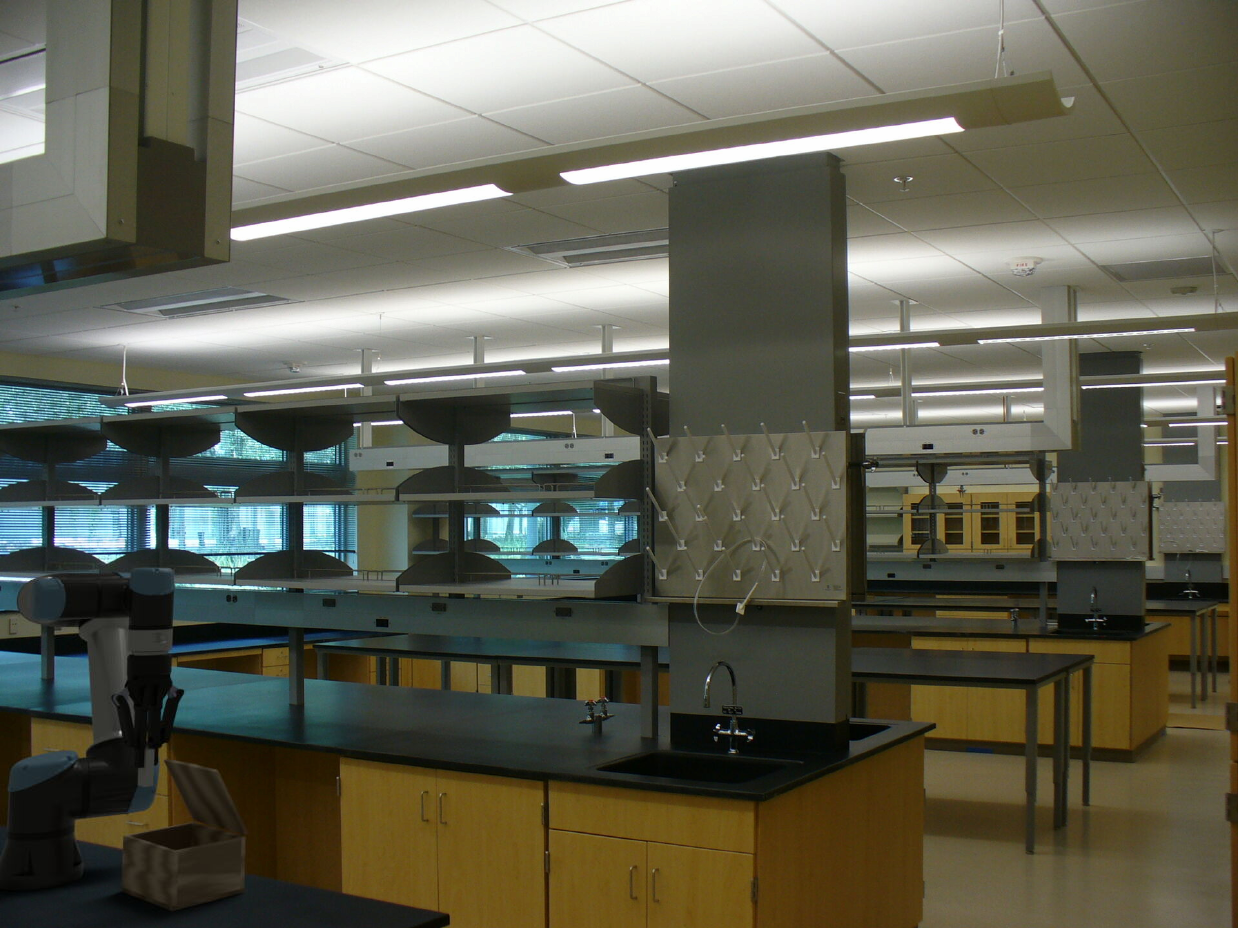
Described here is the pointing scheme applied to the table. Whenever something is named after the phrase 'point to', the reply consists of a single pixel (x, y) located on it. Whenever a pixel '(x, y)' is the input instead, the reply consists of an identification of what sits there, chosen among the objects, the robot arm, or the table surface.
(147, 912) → the table surface
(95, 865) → the table surface
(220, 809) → the lid
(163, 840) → the brown wooden box
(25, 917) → the table surface
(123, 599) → the robot arm
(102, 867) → the table surface
